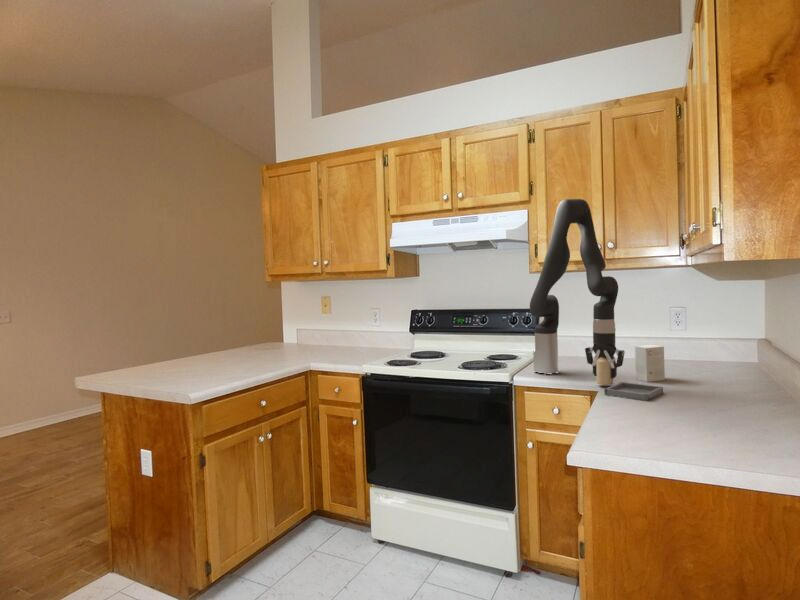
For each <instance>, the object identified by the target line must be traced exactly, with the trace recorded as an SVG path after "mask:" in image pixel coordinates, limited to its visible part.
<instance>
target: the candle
mask: <svg viewBox="0 0 800 600" xmlns="http://www.w3.org/2000/svg"><path fill="white" fill-rule="evenodd" d="M611 368H612V367H611V365H610V363H609V362H608V360H607V359H605V358H603V357H600V358H598V360H597V361H596V370H597V376H596V384H597V385H599V386H600V385H601V386H613V385H614V378H611Z"/></svg>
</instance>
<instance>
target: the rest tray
mask: <svg viewBox="0 0 800 600" xmlns="http://www.w3.org/2000/svg"><path fill="white" fill-rule="evenodd" d="M603 391H604V395H605V396H609V395H613V396H612V397H616V396H620V397H619V398H623V397H626V398H625V399H630V398H632V399H631V400H637V399H638V401H644V402H649V401H651V400H653V399H654V398H657V397H658V396H661V394H663V393H664V386H656V385H649V384H648V385H647V384H640V383H639V384H638V383H633V382H626V381H620V382H618V383H616V384H615V383H614V384H612V385H610V386H608V387H606V388H604V390H603Z"/></svg>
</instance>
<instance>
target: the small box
mask: <svg viewBox="0 0 800 600" xmlns="http://www.w3.org/2000/svg"><path fill="white" fill-rule="evenodd" d="M634 352H635V353H634V355H635V356H634V357H635V358H634V359H635V363H634V364H635V379H636V380H639V381H641V382H645V383H648V382H650V383H651V382H659V381H665V380H666V375H665V374H666V373H665V372H666V371H665V369H666V368H665V346H663V345H657V344H646V345H643V344H642V345H635V346H634Z"/></svg>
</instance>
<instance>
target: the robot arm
mask: <svg viewBox="0 0 800 600" xmlns="http://www.w3.org/2000/svg"><path fill="white" fill-rule="evenodd" d="M572 224H576V225H577V227H578V228H579V231H580V235H581V237H580V238H581V239H580V245H579V253H580V257H581V261H582V264H583V266H584V268H585V272H586V275H585V276H586V283H587V289H588V290H589V292H590V293H591V294H592V295H593V296H595V297H600V298H599V301H598V302H596V303H594V304H593V316H592V317H593V321H592V339H593V341H592V343H593V345H592V347H589V346H588V347H585V348H584V351H585V357H586V362H587V364H588V365H591V366H592V374H593V376H594V377H597V370H596V361H597V360H598V358H600V357H603V358H605V359H607V360H608V362H609V363H610V365H611V367H612V368H611V378H613V379H615V378H616V377H617V375H618V373H617V370H618V368H620V367H622V366H623V365H624V357H625V350H624V349H621V350H620V349H618V348H617V347H616V322H615V306H616V302H617V297H618V294H619V284H618V281H617V279H616V278H615V277H613V276H610V275H609V276H606V275H605V276H603V274H602V273H603V271H604V270H605V269H606V267H607V266H606V262H605V259H604V257H603V254H602V252H601V249H600V246H599V244H598V240H597V235H596V231H595V226H594V221H593V217H592V212H591V208H590V205H589V204H588V202H587V201H586V200H585V199H582V198H571V199H570V198H566V199H562V200H561V201H560V202H559V204H558V205H557V208H556V211H555V216H554V220H553V227H552V233H551V236H550V240H549V243H548V248H547V251H546V253H545V257H544V261H543V264H542V269H541V272H540V274H539V278H538V281H537V283H536V286H535V289H534V291H533V294H532V297H531V298H530V302H529V312H530V314H531V315H532V317H534V318H543V320H542V321H541V322H540V323H538V324H536V325H535V326H534V348H535V349H534V350H532V351H533V353H532V355H533V372H534V371H537V372H542V373H556V372H558V373H559V347H558V328H559V324H560V323H559V322H560V320H559V319H560V303H559V301H558V300H559V299H558V298H557V297H556V296H555V295H553V294H549V293H550V291H551V289H552V288H553V287H554V286H555V284H556V283H557V282H558V281H559V280H560V279H561V278H562V277H563V275H565V273H566V271H567V268H568V265H569V261H570V258H571V252H570V247H569V244H568V240H567V239H568V234H569V233H568V232H569V229H570V226H571V225H572ZM593 353H594V354H595V355H594V357H593ZM615 354H616V356H617V358H615Z"/></svg>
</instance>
